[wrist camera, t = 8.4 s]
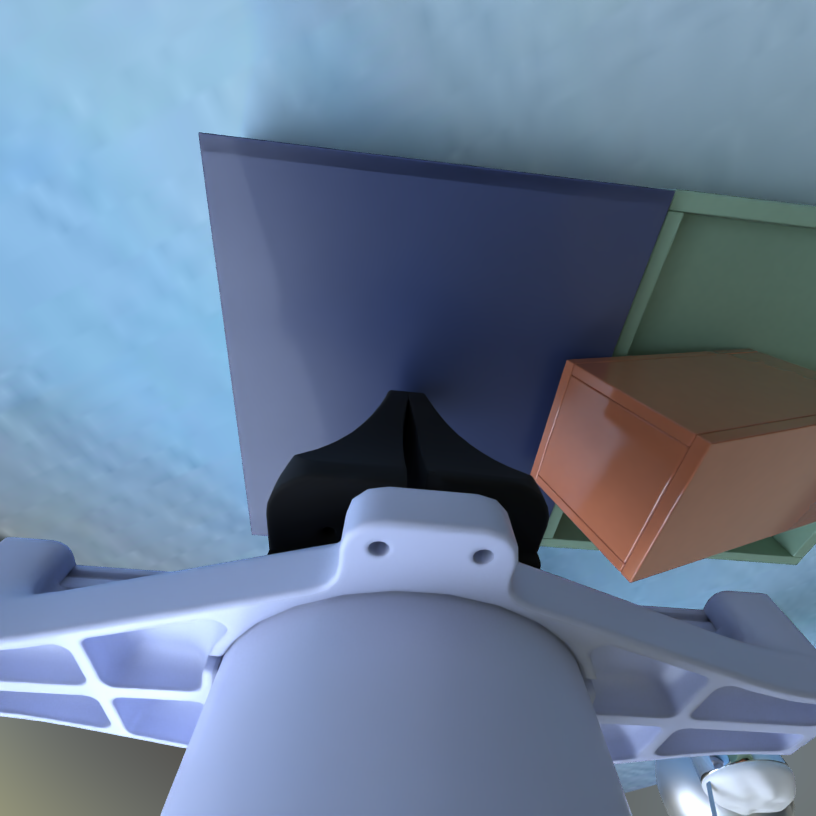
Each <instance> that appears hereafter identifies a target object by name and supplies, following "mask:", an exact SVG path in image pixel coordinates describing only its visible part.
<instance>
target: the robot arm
mask: <svg viewBox="0 0 816 816" xmlns="http://www.w3.org/2000/svg"><path fill="white" fill-rule="evenodd" d="M266 517H267V528H268V539H269V549H270V550H269V552H268V555H265V556H259V557H253V558H248V559H242V560H236V561H230V562H225V563H219V564H213V565H208V566H202V567H196V568H190V569H185V570H179V571H173V572H167V571H153V570H139V569H126V568H112V567H98V566H84V565H76V563H75V559H74V556H73V553H72V551H71V550H70V549H69V547H68V546H67V545H65V544H63V543H61V542H59V541H54V540H45V539H31V538H18V537H6V538H5V539H4V540H2V541H1V542H0V716H6V717H13V718H21V719H29V720H37V721H43V722H49V723H55V724H62V725H68V726H73V727H79V728H84V729H89V730H94V731H99V732H105V733H110V734H115V735H120V736H126V737H131V738H136V739H141V740H146V741H152V742H157V743H162V744H167V745H172V746H178V747H183V748H187V750H186V752H185V755H184V757H183V760H182V762H181V765H180V767H179V770H178V772H177V775H176V777H175V780H174V782H173V785H172V788H171V790H170V792H169V795H168V797H167V800H166V802H165V805H164V808H163V810H162V812H161V815H160V816H632V813H631V811H630V808H629V805H628V802H627V799H626V797H625V794H624V791H623V788H622V785H621V783H620V780H619V777H618V774H617V772H616V769H615V766H614V764H620V763H631V762H641V761H651V760H662V759H672V758H683V757H696V756H710V755H736V754H765V755H791V754H793V753H794V752H795V751H797V750H798V749H800V748H801V747H802V746H804V745H805V744H806V743H808V742H809V741H811V740H812V739H813V738H815V737H816V649H815V648H814V646H813V645H812V644H811V643H810V642H809V641H808V640H807V639H806V638H805V636H804V635H803V634H802V633H801V632H800V631H799V630H798V629H797V627H796V626H795V625H794V624H793V623H792V622H791V621H790V620H789V619H788V617H787V616H786V615H785V614H784V613H783V612H782V611H781V610H780V608H779V607H778V606H777V605H776V604H775V603H774V602H773V601H772V599H771V598H770V597H769V596H768V595H767V594H763V593H751V592H737V591H722V592H719V593H716V594H715V595H713V596H712V597H711V598H710V599H709V600H708V602H707V603H706V605H705V607H704V609H703V610H695V609H681V608H668V607H654V606H640V605H637V604H634V603H631V602H628V601H626V600H623V599H620V598H617V597H614V596H612V595H609V594H606V593H603V592H601V591H598V590H595V589H592V588H590V587H587V586H584V585H581V584H579V583H576V582H573V581H570V580H567V579H565V578H562V577H559V576H556V575H554V574H551V573H548V572H545V571H543V570H540V567H541V563H540V560H539V557H538V554H537V551H538V549H539V546H540V544H541V541H542V539H543V536H544V534H545V531H546V529H547V526H548V521H549V511H548V506H547V504H546V501H545V499H544V497H543V495H542V493H541V490H540V488H539V487H538V485H537V483H536V481H535V480H534V478H533V476H531V475H529V474H526V473H524V472H521V471H518V470H516V469H513V468H511V467H508V466H506V465H504V464H502V463H500V462H498V461H496V460H494V459H492V458H491V457H489V456H487V455H485V454H484V453H482V452H481V451H479V450H478V449H476V448H475V447H473V446H472V445H470V444H469V443H468V442H467V441H465V440H464V439H463V438H462V437H461V436H459V435H458V434H457V433H456V432H455V431H454V430H453V429H452V428H451V427H450V426H449V425H448V424H447V423H446V422H445V421H444V419H443V418H442V417H441V416H440V415H439V413H438V412H437V411H436V409H435V408H434V407H433V405H432V404H431V402H430V401H429V399H428V398H427V396H426V395H425V394H424V393H417V392H407V391H397V390H390V391H389V392H387V395H386V397H385V399H384V400H383V402H382V403H381V404H380V406H379V407H378V408H377V409H376V410H375V412H374V413H373V414H372V415H371V416H370V417H369V418H368V419H367V420H366V421H365V422H364V423H363V424H362V425H360V426H359V427H358V428H357V429H355V430H354V431H353V432H351V433H350V434H348V435H346V436H345V437H343V438H341V439H339V440H338V441H336V442H333V443H331V444H329V445H326V446H324V447H321V448H318V449H315V450H312V451H308V452H304V453H301V454H296V455H294V456H293V458H292V459H291V460H290V462H289V463H288V464H287V466H286V467H285V469H284V470H283V472H282V473H281V475H280V476H279V478H278V480H277V482H276V484H275V486H274V488H273V491H272V493H271V495H270V498H269V500H268V502H267V510H266Z"/></svg>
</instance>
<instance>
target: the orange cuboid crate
mask: <svg viewBox="0 0 816 816" xmlns="http://www.w3.org/2000/svg"><path fill="white" fill-rule="evenodd" d="M530 475H531V476H533V478H534V480H535V481H536V483H537V484H538V485H539V486H540V487H541V488H542V490H543V491H544V492H545V493H546V494H547V495H548V496H549V497H550V498H551V499H552V500H553V501H554V502H555V503H556V504H557V506H558V507H559V508H560V509H561V510H562V511H563V512H564V513H565V514H566V515H567V516H568V517H569V518H570V519H571V520H572V522H573V523H574V524H575V525H576V526H577V527H578V528H579V529H580V530H581V531H582V532H583V533H584V534H585V535H586V536H587V538H588V539H589V540H590V541H591V542H592V543H593V544H594V545H595V546H596V547H597V548H598V549H599V550H600V551H601V552H602V554H603V555H604V556H605V557H606V558H607V559H608V560H609V561H610V562H611V563H612V564H613V565H614V566H615V567H616V568H617V569H618V571H620V572H621V574H622V575H623V576H624V577H625V578H626V579H627V580H628V581H629V582H630V583H631V582H635V581H638V580H641V579H644V578H647V577H650V576H653V575H656V574H659V573H662V572H665V571H668V570H671V569H674V568H677V567H680V566H683V565H686V564H689V563H692V562H695V561H698V560H701V559H704V558H707V557H710V556H713V555H716V554H719V553H722V552H725V551H728V550H731V549H734V548H737V547H740V546H744V545H747V544H750V543H753V542H756V541H759V540H762V539H765V538H768V537H771V536H774V535H777V534H780V533H783V532H786V531H789V530H792V529H795V528H798V527H801V526H804V525H807V524H810V523H813V522H816V372H815V371H813V370H810V369H807V368H804V367H801V366H798V365H795V364H792V363H790V362H787V361H784V360H781V359H778V358H775V357H772V356H769V355H767V354H764V353H761V352H757V351H755V350H752V349H735V350H718V351H702V352H685V353H668V354H652V355H635V356H619V357H602V358H585V359H569V360H566V363H565V366H564V369H563V373H562V376H561V379H560V382H559V385H558V388H557V391H556V395H555V398H554V401H553V404H552V407H551V410H550V414H549V417H548V420H547V423H546V426H545V429H544V432H543V436H542V439H541V442H540V445H539V448H538V451H537V454H536V458H535V461H534V464H533V467H532V470H531V473H530Z"/></svg>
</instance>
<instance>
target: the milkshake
mask: <svg viewBox="0 0 816 816" xmlns="http://www.w3.org/2000/svg"><path fill="white" fill-rule="evenodd" d="M690 759H691V761H692V763H693V766H694V768H695V771H696V773H697V775H698V778H699V780H700V783H701V785H702V788H703V790H704V792H705V793H706V795H707V796H708V797H709V802H710V807H711V812H712V816H717V812H716V807H715V803H717V804H718V805H720V806H721V807H723V808H726V809H728V810H731V811H733V812H736V813H738V814H741V815H749V814H752V813H771V812H778V811H782V810H783V809H784V808H785V807H787V806H788V805H789V804H790V803H791V802H792V801H793V799H794V797H795V793H796V780H795V775H794V773H793V771H792V770H791V769H790V768H789V766H788V765H787V764H786V762H785V761H784V759H783V758H782V757H781V756H780V755H765V754H736V755H710V756H696V757H690Z"/></svg>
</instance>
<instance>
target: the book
mask: <svg viewBox="0 0 816 816" xmlns="http://www.w3.org/2000/svg"><path fill="white" fill-rule="evenodd" d="M199 141H200V149H201V156H202V164H203V172H204V179H205V187H206V194H207V202H208V209H209V217H210V224H211V232H212V239H213V247H214V254H215V262H216V269H217V277H218V284H219V292H220V299H221V307H222V314H223V322H224V329H225V337H226V344H227V352H228V359H229V367H230V374H231V382H232V389H233V397H234V404H235V412H236V419H237V427H238V434H239V442H240V449H241V457H242V464H243V472H244V479H245V487H246V494H247V502H248V509H249V517H250V524H251V532H252V535H261V536H268V528H267V517H266V510H267V502H268V500H269V498H270V495H271V493H272V491H273V488H274V486H275V484H276V482H277V480H278V478H279V476H280V475H281V473H282V472H283V470H284V469H285V467H286V466H287V464H288V463H289V462H290V460H291V459H292V458H293V456H294V455H296V454H301V453H304V452H308V451H312V450H315V449H318V448H321V447H324V446H326V445H329V444H331V443H333V442H336V441H338V440H339V439H341V438H343V437H345V436H346V435H348V434H350V433H351V432H353V431H354V430H355V429H357V428H358V427H359V426H360V425H362V424H363V423H364V422H365V421H366V420H367V419H368V418H369V417H370V416H371V415H372V414H373V413H374V412H375V410H376V409H377V408H378V407H379V406H380V404H381V403H382V402H383V400H384V399H385V397H386V395H387V392H389V391H390V390H397V391H407V392H417V393H424V394H425V395H426V396H427V398H428V399H429V401H430V402H431V404H432V405H433V407H434V408H435V409H436V411H437V412H438V413H439V415H440V416H441V417H442V418H443V419H444V421H445V422H446V423H447V424H448V425H449V426H450V427H451V428H452V429H453V430H454V431H455V432H456V433H457V434H458V435H459V436H461V437H462V438H463V439H464V440H465V441H467V442H468V443H469V444H470V445H472V446H473V447H475V448H476V449H478V450H479V451H481V452H482V453H484V454H485V455H487V456H489V457H491V458H492V459H494V460H496V461H498V462H500V463H502V464H504V465H506V466H508V467H511V468H513V469H516V470H518V471H521V472H524V473H526V474H529V475H530V473H531V470H532V467H533V464H534V461H535V458H536V454H537V451H538V448H539V445H540V442H541V439H542V436H543V432H544V429H545V426H546V423H547V420H548V417H549V414H550V410H551V407H552V404H553V401H554V398H555V395H556V391H557V388H558V385H559V382H560V379H561V376H562V373H563V369H564V366H565V363H566V360H569V359H585V358H602V357H612V355H613V352H614V349H615V347H616V344H617V342H618V339H619V336H620V334H621V331H622V329H623V326H624V323H625V321H626V318H627V316H628V313H629V310H630V308H631V305H632V303H633V300H634V297H635V295H636V292H637V290H638V287H639V285H640V282H641V279H642V277H643V274H644V272H645V269H646V266H647V264H648V261H649V259H650V256H651V253H652V251H653V248H654V246H655V243H656V240H657V238H658V235H659V233H660V230H661V228H662V225H663V222H664V220H665V217H666V215H667V212H668V209H669V207H670V204H671V202H672V199H673V196H674V194H675V191H673V190H664V189H656V188H648V187H640V186H632V185H624V184H616V183H607V182H599V181H591V180H583V179H575V178H567V177H559V176H551V175H542V174H534V173H526V172H518V171H510V170H502V169H494V168H485V167H477V166H469V165H461V164H453V163H445V162H437V161H428V160H420V159H412V158H404V157H396V156H388V155H380V154H372V153H363V152H355V151H347V150H339V149H331V148H323V147H315V146H306V145H298V144H290V143H282V142H274V141H266V140H258V139H250V138H241V137H233V136H225V135H217V134H209V133H201V132H199ZM537 485H538V484H537ZM538 487H539V488H540V490H541V493H542V495H543V497H544V499H545V501H546V504H547V506H548V511H549V518H550V515H551V513H552V510H553V507H554V505H555V502H554V501H553V500H552V499H551V498H550V497H549V496H548V495H547V494H546V493H545V492H544V491H543V490H542V488H541V487H540V486H539V485H538Z"/></svg>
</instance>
